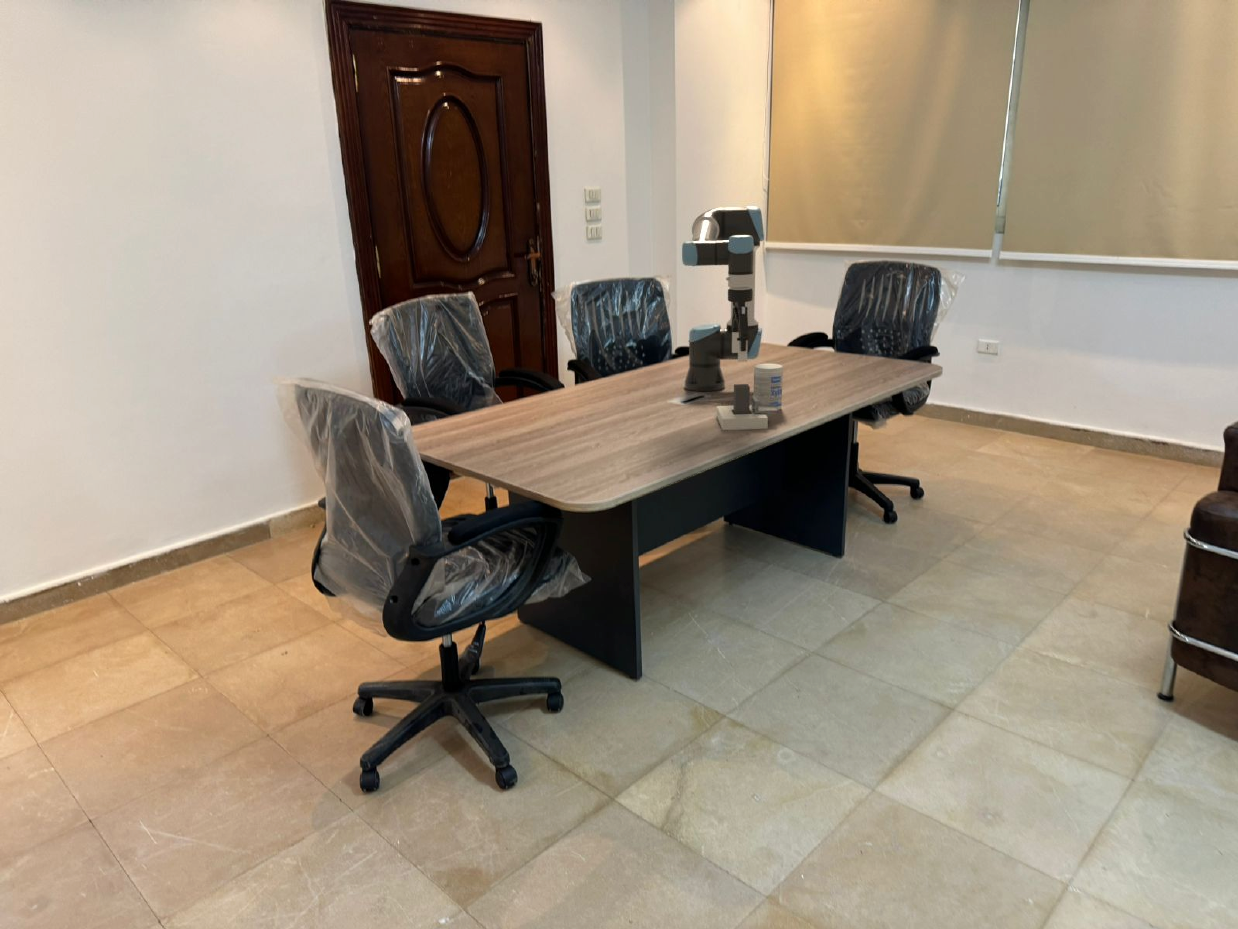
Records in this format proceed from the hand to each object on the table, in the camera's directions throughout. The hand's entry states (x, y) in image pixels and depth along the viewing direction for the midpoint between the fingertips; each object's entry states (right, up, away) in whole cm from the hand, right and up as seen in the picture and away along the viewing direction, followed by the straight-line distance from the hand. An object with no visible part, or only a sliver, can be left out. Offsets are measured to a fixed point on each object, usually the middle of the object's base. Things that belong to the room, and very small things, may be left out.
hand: (739, 356), depth 255 cm
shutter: (+9, -16, +5) cm, 19 cm away
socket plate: (+1, -20, +6) cm, 21 cm away
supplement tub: (+13, -15, +21) cm, 29 cm away
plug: (+1, -20, +6) cm, 21 cm away
